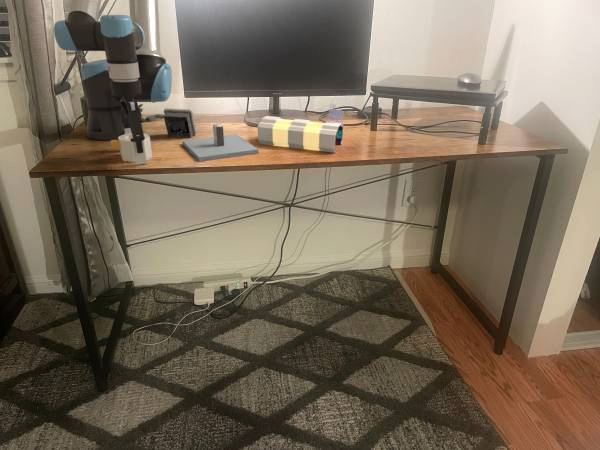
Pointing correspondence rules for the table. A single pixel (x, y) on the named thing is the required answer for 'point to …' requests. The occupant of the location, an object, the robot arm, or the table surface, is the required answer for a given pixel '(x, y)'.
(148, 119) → the zombie figurine
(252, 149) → the shaft plate
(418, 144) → the table surface
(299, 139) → the striped octagonal tube
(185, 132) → the electrical switch
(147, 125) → the table surface
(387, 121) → the table surface
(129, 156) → the beige octagonal hollow block
